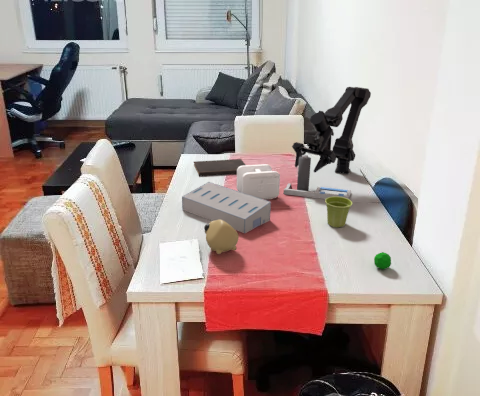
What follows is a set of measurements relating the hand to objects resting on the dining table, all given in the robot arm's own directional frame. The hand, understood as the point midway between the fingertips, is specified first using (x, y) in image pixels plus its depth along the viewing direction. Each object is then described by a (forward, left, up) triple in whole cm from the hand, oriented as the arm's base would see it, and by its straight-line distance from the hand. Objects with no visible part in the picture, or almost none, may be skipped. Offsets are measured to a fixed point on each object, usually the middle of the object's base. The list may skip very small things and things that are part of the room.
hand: (304, 169), depth 204 cm
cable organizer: (+12, -16, -9) cm, 23 cm away
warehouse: (+34, -23, -10) cm, 42 cm away
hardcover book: (-15, -40, -10) cm, 44 cm away
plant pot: (+29, +17, -9) cm, 35 cm away
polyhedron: (+56, +33, -9) cm, 66 cm away
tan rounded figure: (+60, -16, -9) cm, 63 cm away
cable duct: (+1, +6, -9) cm, 11 cm away
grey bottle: (0, 0, -9) cm, 9 cm away
